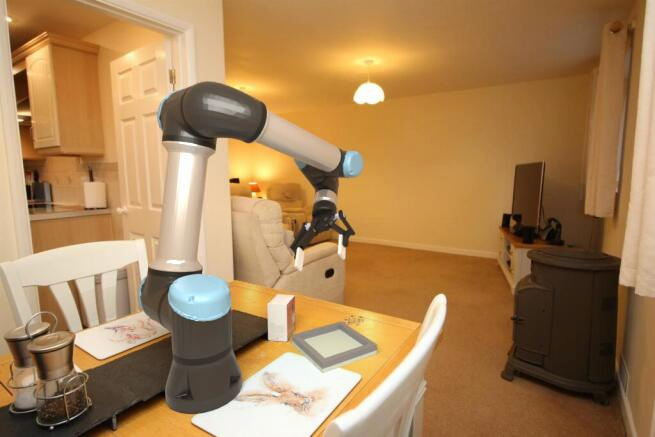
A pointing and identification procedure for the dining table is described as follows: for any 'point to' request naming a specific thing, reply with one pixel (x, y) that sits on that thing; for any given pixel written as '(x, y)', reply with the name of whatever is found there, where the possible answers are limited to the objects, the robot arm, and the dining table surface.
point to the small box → (281, 317)
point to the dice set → (360, 319)
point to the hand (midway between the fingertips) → (319, 262)
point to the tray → (333, 346)
